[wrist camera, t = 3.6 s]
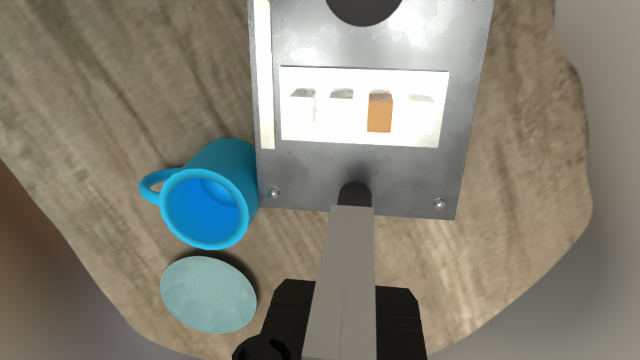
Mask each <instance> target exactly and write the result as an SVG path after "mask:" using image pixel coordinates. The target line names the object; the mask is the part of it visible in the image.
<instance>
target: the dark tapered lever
mask: <svg viewBox="0 0 640 360" xmlns="http://www.w3.org/2000/svg"><path fill="white" fill-rule="evenodd" d="M401 2H402V0H326V3H327V5H328V7H329V8H330V10H331V11H332V12H333V14H334V15H335V16H336V17H337V18H339V19H340V20H341V21H343V22H345V23H347V24H349V25H352V26H356V27H368V26H373V25H376V24H379V23H381V22H383V21H384V20H386V19H387V18H389V17H390V16H391V15H392V14H393V13H394V12H395V11H396V9H397V8H398V7H399V5H400V3H401Z"/></svg>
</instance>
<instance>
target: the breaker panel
mask: <svg viewBox="0 0 640 360" xmlns="http://www.w3.org/2000/svg"><path fill="white" fill-rule="evenodd" d="M494 1H495V0H402V2H401V3H400V5H399V7H398V8H397V9H396V11H395V12H394V13H393V14H392V15H391V16H390V17H389V18H387V19H386V20H384V21H383V22H381V23H379V24H376V25H373V26H368V27H356V26H352V25H349V24H347V23H345V22H343V21H341V20H340V19H339V18H337V17H336V16H335V15H334V14H333V12H332V11H331V10H330V8H329V7H328V5H327V3H326V0H247V10H248V27H249V45H250V62H251V79H252V96H253V113H254V131H255V148H256V165H257V182H258V200H259V207H269V208H283V209H297V210H312V211H326V212H330V208H331V205H337V202H338V196H339V192H340V190H341V188H342V187H343V186H344V185H346V184H348V183H351V182H359V183H362V184H364V185H366V186H367V187H368V188H369V190H370V191H371V194H372V207H373V208H374V215H383V216H398V217H412V218H427V219H441V220H454V219H455V213H456V208H457V203H458V197H459V192H460V186H461V181H462V175H463V170H464V164H465V159H466V153H467V148H468V143H469V137H470V132H471V126H472V121H473V115H474V110H475V104H476V99H477V94H478V88H479V83H480V77H481V72H482V66H483V61H484V55H485V50H486V45H487V39H488V34H489V28H490V23H491V17H492V12H493V6H494ZM369 94H388V95H392V97H393V101H394V104H393V114H392V125H391V133H372V132H367V113H368V98H369Z"/></svg>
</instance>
